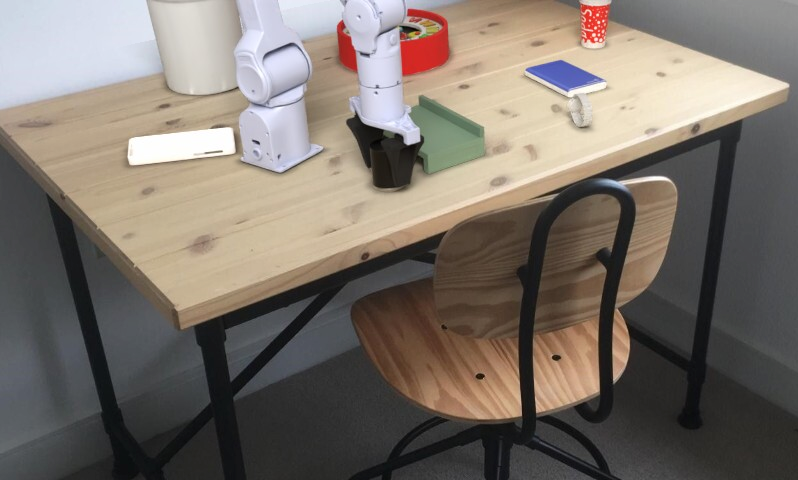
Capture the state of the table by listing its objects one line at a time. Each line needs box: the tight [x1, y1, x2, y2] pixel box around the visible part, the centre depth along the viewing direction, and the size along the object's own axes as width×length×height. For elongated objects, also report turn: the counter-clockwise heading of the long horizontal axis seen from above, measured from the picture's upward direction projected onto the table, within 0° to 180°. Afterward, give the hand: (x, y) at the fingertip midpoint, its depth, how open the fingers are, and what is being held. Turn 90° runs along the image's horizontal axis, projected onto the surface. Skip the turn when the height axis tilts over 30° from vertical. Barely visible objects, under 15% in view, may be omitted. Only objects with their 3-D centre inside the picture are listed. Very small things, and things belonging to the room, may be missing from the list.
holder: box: [370, 137, 405, 193], centre depth 132 cm, size 5×5×6 cm
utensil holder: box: [145, 0, 243, 96], centre depth 161 cm, size 15×15×18 cm
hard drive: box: [524, 59, 607, 99], centre depth 166 cm, size 2×8×12 cm
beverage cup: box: [578, 0, 613, 50], centre depth 178 cm, size 6×6×14 cm
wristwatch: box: [566, 93, 593, 128], centre depth 149 cm, size 3×5×5 cm, turn 21°
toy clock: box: [336, 8, 450, 76], centre depth 175 cm, size 20×6×20 cm
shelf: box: [383, 94, 486, 175], centre depth 143 cm, size 10×16×4 cm, turn 38°
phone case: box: [127, 126, 237, 166], centre depth 143 cm, size 7×1×15 cm
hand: (388, 175), depth 133 cm, fingers open, 7 cm apart
